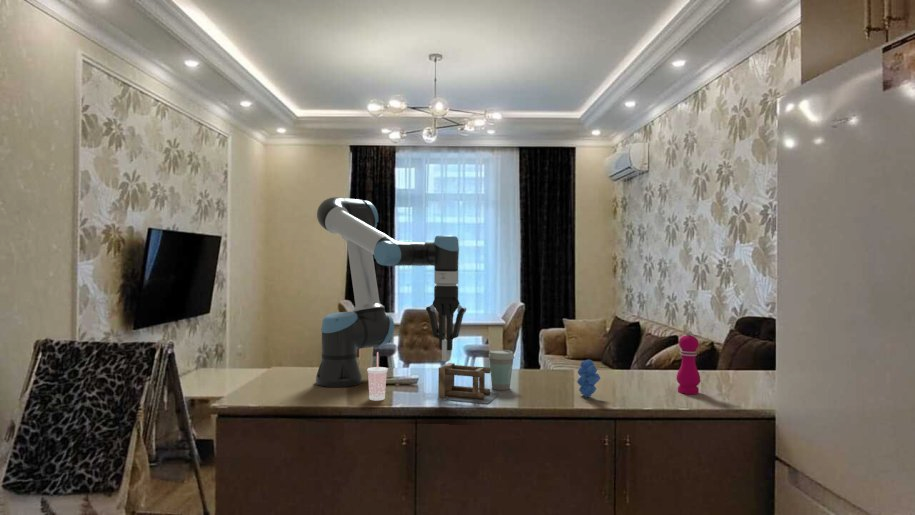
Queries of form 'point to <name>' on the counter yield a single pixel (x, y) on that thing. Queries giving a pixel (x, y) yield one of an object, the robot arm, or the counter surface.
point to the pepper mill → (688, 365)
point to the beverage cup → (377, 382)
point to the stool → (449, 389)
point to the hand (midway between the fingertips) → (445, 360)
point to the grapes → (587, 378)
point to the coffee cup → (501, 368)
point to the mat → (486, 399)
